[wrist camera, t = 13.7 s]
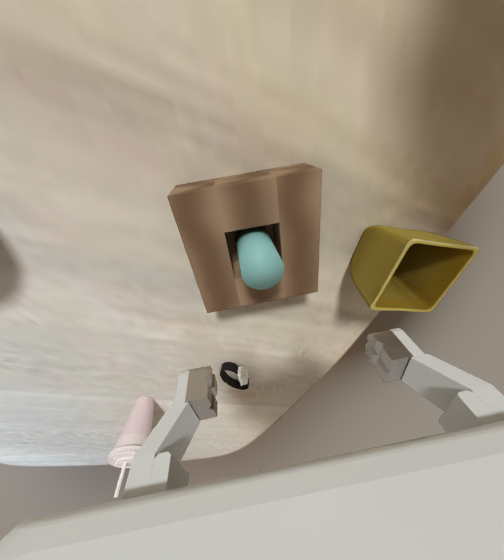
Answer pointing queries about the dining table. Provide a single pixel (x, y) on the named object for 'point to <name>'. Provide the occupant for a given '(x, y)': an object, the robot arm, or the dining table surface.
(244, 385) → the watch
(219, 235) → the bore block
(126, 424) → the smoothie
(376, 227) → the flower pot
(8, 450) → the dining table surface
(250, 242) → the dowel
